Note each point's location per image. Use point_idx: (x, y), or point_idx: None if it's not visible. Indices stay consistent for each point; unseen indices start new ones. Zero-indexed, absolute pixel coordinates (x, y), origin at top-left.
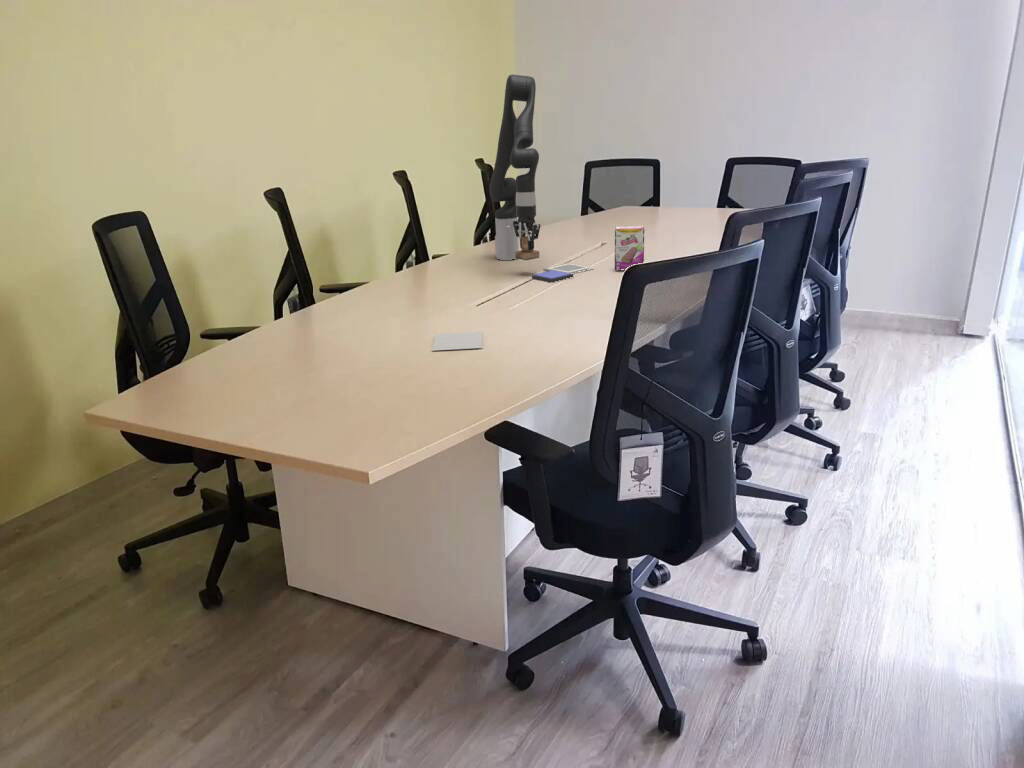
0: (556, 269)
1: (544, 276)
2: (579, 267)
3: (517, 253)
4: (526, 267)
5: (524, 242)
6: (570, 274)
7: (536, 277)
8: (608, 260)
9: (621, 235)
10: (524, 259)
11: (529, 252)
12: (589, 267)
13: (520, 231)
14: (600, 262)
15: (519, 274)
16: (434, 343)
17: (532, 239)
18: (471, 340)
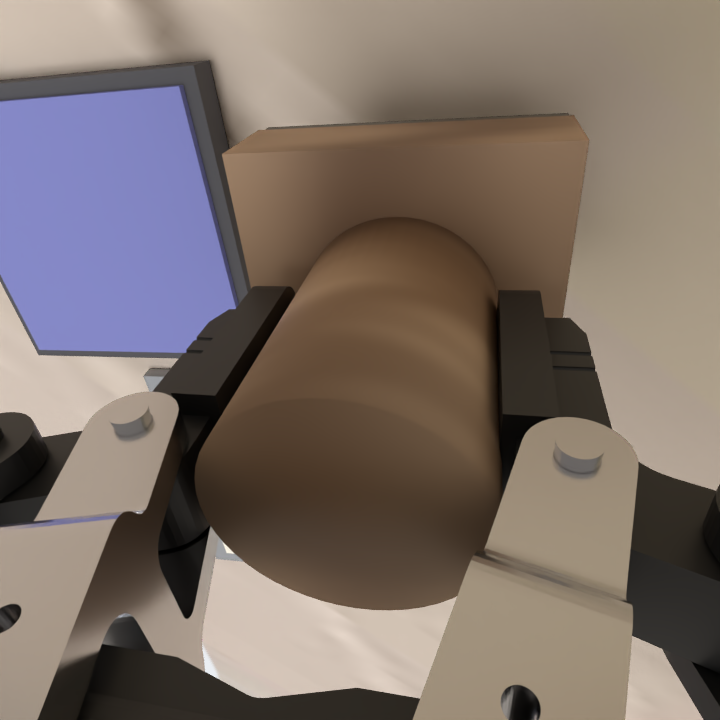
0: None
1: (25, 111)
2: None
3: (504, 135)
4: (702, 380)
5: (299, 324)
6: (38, 338)
7: (122, 70)
8: (362, 687)
9: None
10: (313, 127)
11: (292, 275)
12: (225, 547)
13: (466, 629)
14: (352, 654)
15: (509, 105)
16: None
17: (2, 416)
18: None
